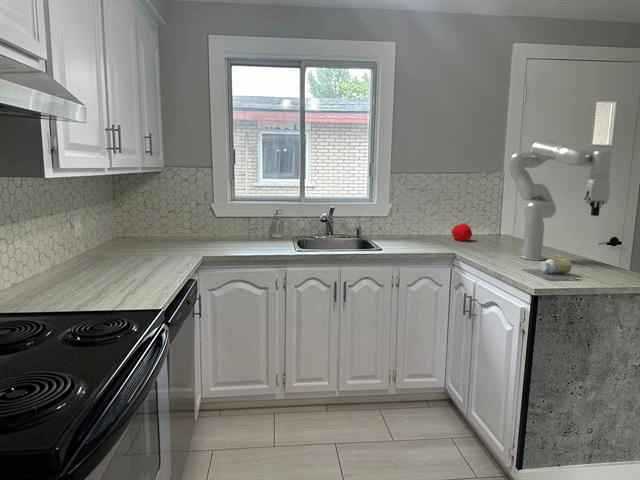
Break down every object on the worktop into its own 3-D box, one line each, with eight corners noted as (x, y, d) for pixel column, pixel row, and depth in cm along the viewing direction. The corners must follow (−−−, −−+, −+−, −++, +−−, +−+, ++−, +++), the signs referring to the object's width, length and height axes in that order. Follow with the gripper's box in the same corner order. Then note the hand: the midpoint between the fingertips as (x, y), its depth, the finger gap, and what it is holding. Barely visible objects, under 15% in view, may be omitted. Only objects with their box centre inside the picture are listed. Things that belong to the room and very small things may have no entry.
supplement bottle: (560, 261, 212) (536, 261, 210) (570, 256, 206) (545, 257, 204) (564, 274, 209) (540, 275, 207) (574, 270, 203) (549, 270, 201)
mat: (522, 270, 213) (522, 269, 213) (552, 269, 216) (552, 268, 216) (549, 280, 194) (549, 279, 194) (581, 280, 196) (581, 279, 196)
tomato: (470, 246, 295) (456, 243, 307) (479, 230, 296) (465, 228, 308) (457, 236, 290) (444, 234, 302) (467, 220, 291) (453, 218, 303)
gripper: (607, 177, 213) (602, 214, 216) (579, 176, 210) (575, 214, 213) (619, 177, 205) (614, 216, 208) (591, 177, 203) (586, 216, 206)
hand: (594, 215), depth 211 cm, fingers closed
